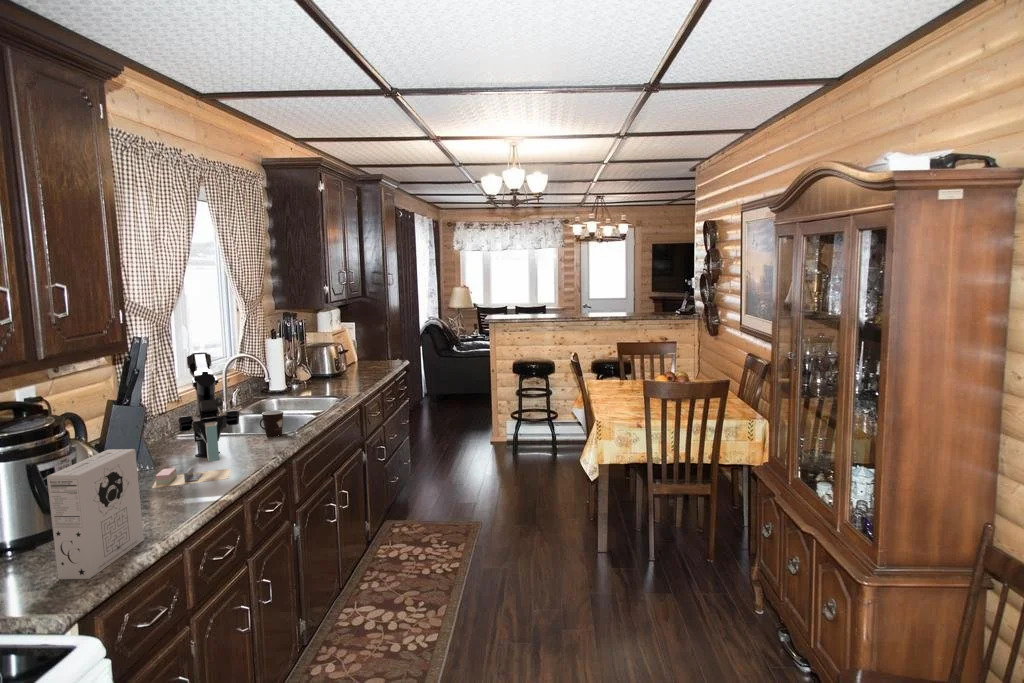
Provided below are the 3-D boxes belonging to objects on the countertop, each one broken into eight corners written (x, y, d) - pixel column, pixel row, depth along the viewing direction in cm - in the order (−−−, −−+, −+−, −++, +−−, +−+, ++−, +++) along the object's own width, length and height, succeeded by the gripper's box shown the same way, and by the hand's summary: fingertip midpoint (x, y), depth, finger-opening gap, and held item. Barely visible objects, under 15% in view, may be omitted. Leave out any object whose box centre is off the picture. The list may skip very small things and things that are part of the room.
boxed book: (207, 457, 224) (204, 423, 222) (217, 455, 225) (214, 421, 224) (208, 461, 218) (206, 426, 217) (219, 460, 220) (216, 425, 218)
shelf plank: (151, 491, 211) (151, 488, 211) (158, 480, 222) (157, 477, 222) (228, 482, 218) (228, 478, 218) (231, 471, 230) (230, 468, 230)
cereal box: (116, 540, 173) (107, 449, 170) (144, 540, 173) (135, 448, 170) (57, 580, 151) (45, 475, 148) (89, 579, 151) (78, 475, 148)
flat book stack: (164, 477, 222) (163, 468, 221) (177, 476, 222) (176, 467, 222) (156, 484, 214) (155, 476, 213) (169, 483, 215) (168, 475, 214)
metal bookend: (191, 475, 223) (190, 467, 222) (202, 474, 223) (202, 466, 223) (184, 482, 216) (184, 473, 216) (197, 481, 217) (196, 472, 216)
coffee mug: (279, 431, 285) (277, 409, 284) (288, 434, 279) (286, 412, 278) (253, 437, 277) (251, 414, 276) (261, 440, 271) (260, 417, 270)
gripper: (176, 393, 218) (180, 432, 210) (236, 387, 227) (242, 424, 218) (177, 411, 226) (181, 450, 217) (235, 405, 235) (241, 442, 226)
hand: (212, 441), depth 220 cm, fingers closed on boxed book, 3 cm apart
